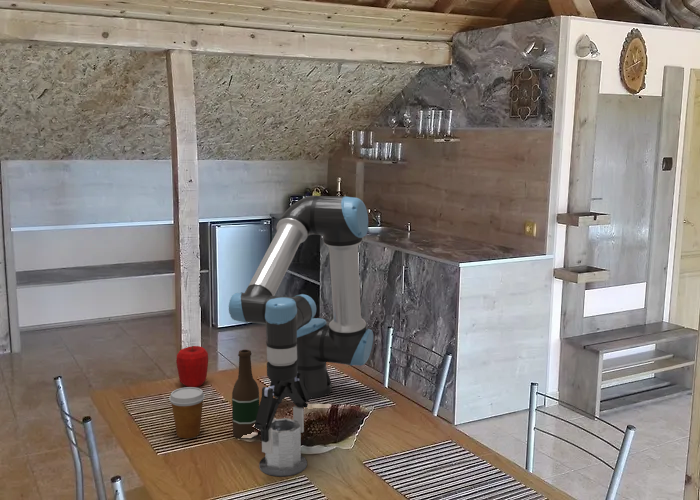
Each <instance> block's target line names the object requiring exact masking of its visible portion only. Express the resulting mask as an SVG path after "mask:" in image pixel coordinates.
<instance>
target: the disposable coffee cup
mask: <svg viewBox="0 0 700 500" xmlns="http://www.w3.org/2000/svg"><path fill="white" fill-rule="evenodd" d="M203 391H204V390H203V389H201V388H199V387H187V386H184V387H180V388H176V389H175V390H173V391H171V393H170V396H169V399H168V400H169V402H170V404H171V409H172V414H173V420H174V425H175V431H176V437H178V438H180V439H191V438H195V437H198V436H199V435H200V434H201V426H202V425H201V424H202V416H203V415H202V414H203V406H204V405H203V404H204V399H205V395H206V394H204V392H203Z"/></svg>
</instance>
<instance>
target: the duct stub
mask: <svg viewBox="0 0 700 500" xmlns="http://www.w3.org/2000/svg"><path fill="white" fill-rule="evenodd" d="M258 466H259V470H260V471H261V472H262V473H264V474H265V475H268V476H271V477H277V478H278V477H280V478H282V477H284V478H285V477H291V476H292V477H293V476H295V475H298V474H301V473H302V472H303V471H305V470H306V469H307V466H308V461H307V459H306V457H305V456H303V455H301V464H300V465H299V466H297V467H296V468H295V469H293V470H286V471H276V470H273V469H269V468H267V465H266V462H265V456H264V457H263V458H261V459H260V461H259V464H258Z"/></svg>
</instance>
